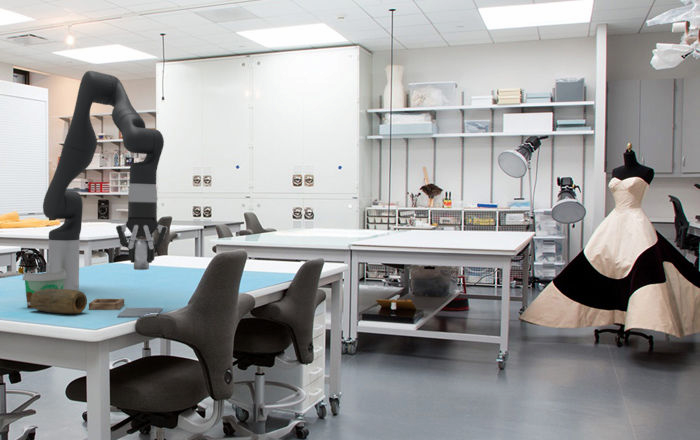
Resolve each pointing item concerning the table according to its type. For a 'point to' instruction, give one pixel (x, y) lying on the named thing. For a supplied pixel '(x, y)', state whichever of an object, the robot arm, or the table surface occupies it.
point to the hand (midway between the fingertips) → (141, 262)
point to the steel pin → (141, 255)
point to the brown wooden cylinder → (59, 301)
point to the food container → (42, 282)
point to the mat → (138, 312)
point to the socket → (106, 304)
